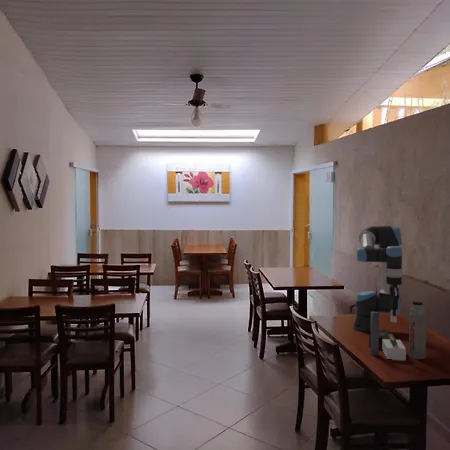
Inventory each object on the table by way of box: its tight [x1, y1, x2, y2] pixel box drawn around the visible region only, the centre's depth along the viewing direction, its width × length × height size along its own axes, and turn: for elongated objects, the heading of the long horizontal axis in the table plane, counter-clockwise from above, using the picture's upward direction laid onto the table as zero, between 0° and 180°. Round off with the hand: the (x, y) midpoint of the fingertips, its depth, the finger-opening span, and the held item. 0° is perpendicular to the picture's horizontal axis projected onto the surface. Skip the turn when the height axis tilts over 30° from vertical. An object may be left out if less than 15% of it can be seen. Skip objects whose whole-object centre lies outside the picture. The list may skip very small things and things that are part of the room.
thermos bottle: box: [408, 301, 427, 360], centre depth 230 cm, size 8×8×28 cm
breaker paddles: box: [388, 333, 397, 345], centre depth 233 cm, size 10×2×3 cm, turn 169°
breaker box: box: [381, 339, 407, 362], centre depth 233 cm, size 15×9×6 cm, turn 169°
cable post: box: [370, 312, 380, 356], centre depth 234 cm, size 4×4×22 cm
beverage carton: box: [368, 328, 390, 350], centre depth 253 cm, size 8×19×7 cm, turn 151°
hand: (393, 321), depth 232 cm, fingers closed
